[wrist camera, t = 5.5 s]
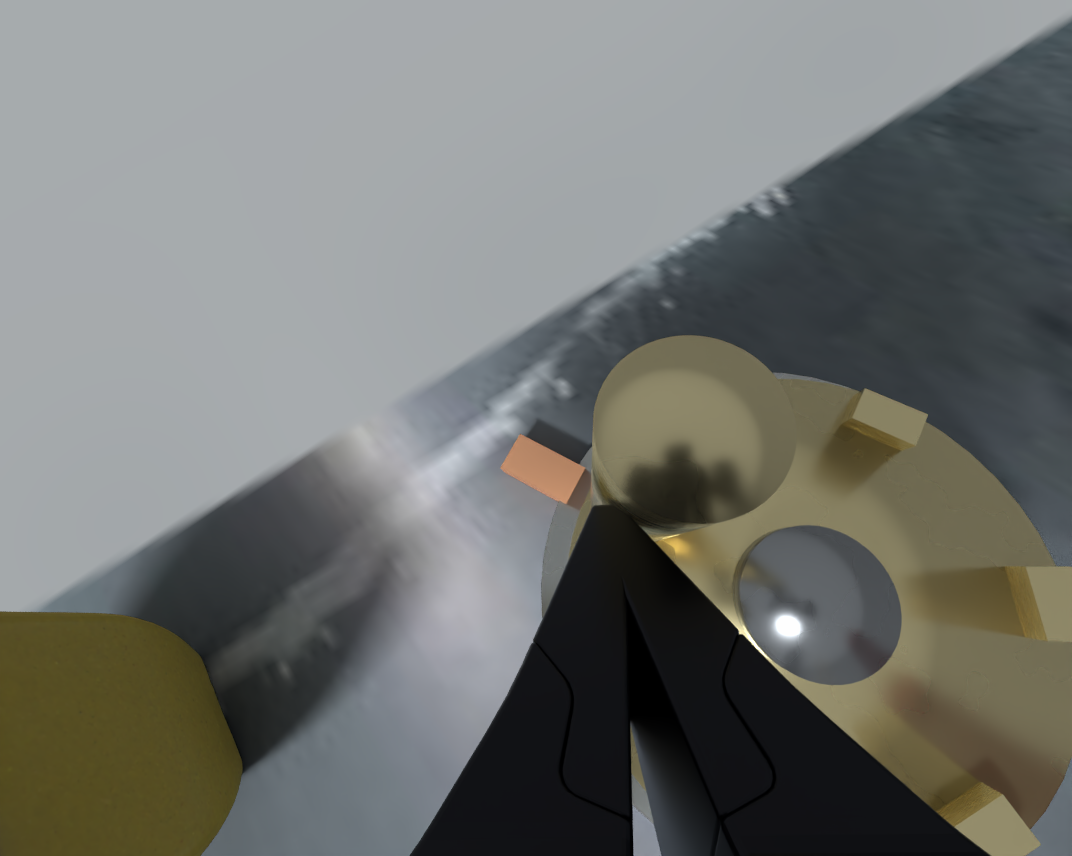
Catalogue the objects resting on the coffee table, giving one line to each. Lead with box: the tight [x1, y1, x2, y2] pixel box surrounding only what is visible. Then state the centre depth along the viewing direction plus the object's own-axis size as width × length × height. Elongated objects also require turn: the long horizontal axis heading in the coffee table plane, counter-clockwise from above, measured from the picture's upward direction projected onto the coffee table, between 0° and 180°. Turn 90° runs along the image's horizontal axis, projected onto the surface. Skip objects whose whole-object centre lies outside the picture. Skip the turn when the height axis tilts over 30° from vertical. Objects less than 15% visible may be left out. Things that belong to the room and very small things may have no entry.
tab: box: [501, 434, 585, 504], centre depth 18 cm, size 3×2×1 cm, turn 61°
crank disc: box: [568, 335, 1072, 856], centre depth 10 cm, size 15×15×11 cm
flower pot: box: [0, 612, 243, 856], centre depth 13 cm, size 9×9×9 cm
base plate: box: [541, 373, 902, 824], centre depth 15 cm, size 17×17×4 cm
